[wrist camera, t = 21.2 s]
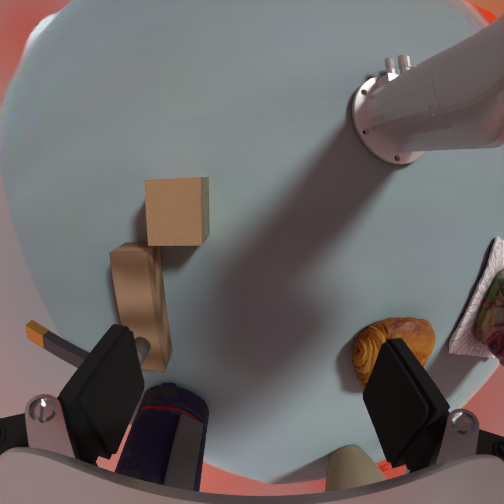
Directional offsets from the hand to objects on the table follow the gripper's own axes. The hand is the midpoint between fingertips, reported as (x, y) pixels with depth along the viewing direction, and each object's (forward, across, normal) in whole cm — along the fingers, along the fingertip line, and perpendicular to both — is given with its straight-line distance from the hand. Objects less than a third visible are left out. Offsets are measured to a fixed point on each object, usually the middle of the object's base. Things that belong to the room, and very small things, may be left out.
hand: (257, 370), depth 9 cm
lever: (+13, +20, +13) cm, 27 cm away
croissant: (+26, -23, +19) cm, 40 cm away
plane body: (+25, +14, +11) cm, 31 cm away
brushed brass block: (+25, +9, -2) cm, 27 cm away
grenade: (+24, +12, +31) cm, 41 cm away
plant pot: (+25, -24, +52) cm, 62 cm away
